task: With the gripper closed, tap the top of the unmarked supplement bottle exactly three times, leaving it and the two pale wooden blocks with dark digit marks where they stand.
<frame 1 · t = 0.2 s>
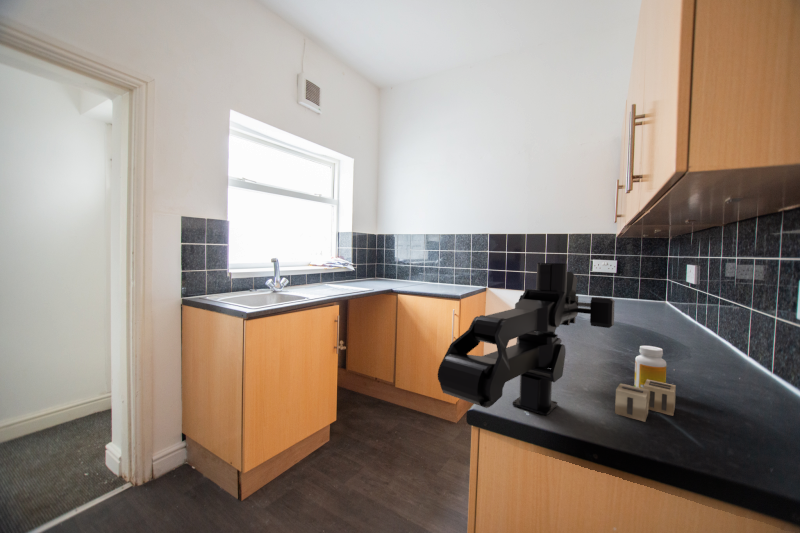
hand: (576, 306, 82), 17 cm above the counter, tool horizontal, fingers open, 9 cm apart
oak block two: (658, 408, 64), on the counter
birch block one: (631, 413, 62), on the counter
supplement bottle: (649, 393, 72), on the counter
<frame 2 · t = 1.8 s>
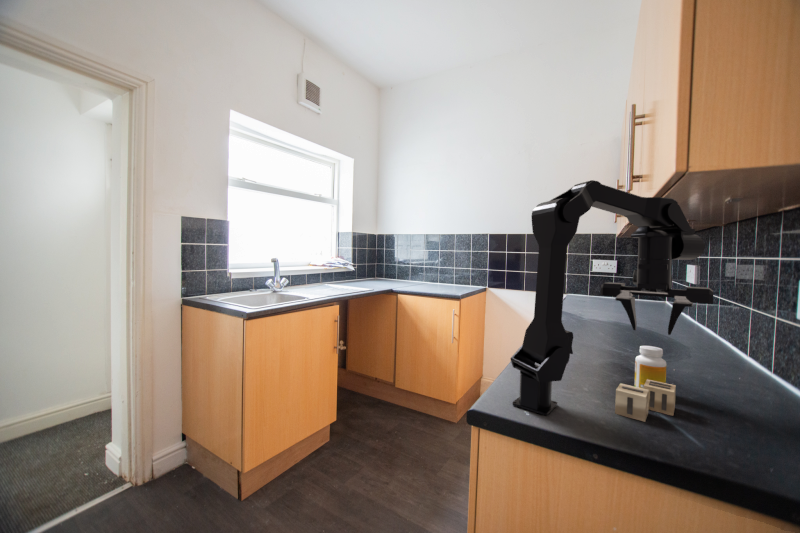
hand: (651, 332, 71), 13 cm above the counter, tool pointing down, fingers open, 6 cm apart
nothing on the counter moved.
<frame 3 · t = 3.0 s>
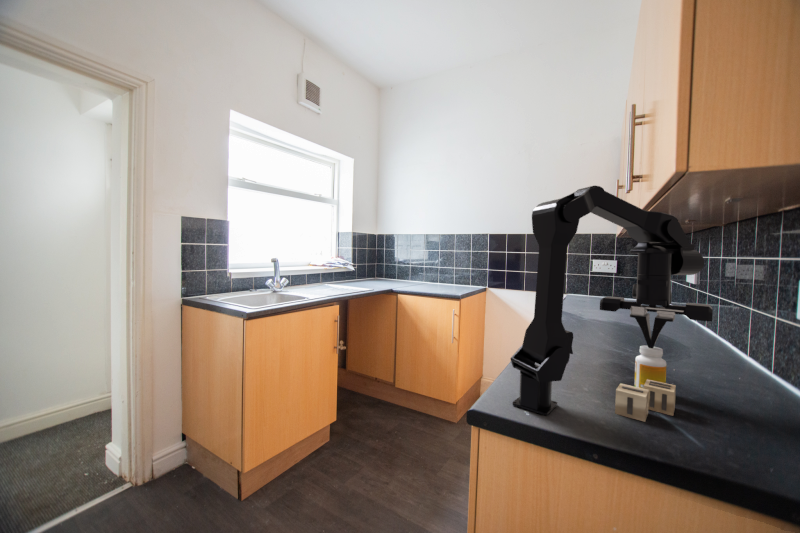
hand: (650, 347, 71), 10 cm above the counter, tool pointing down, fingers closed, pressing on supplement bottle
supplement bottle: (649, 393, 72), on the counter, touching gripper
everything else where it was.
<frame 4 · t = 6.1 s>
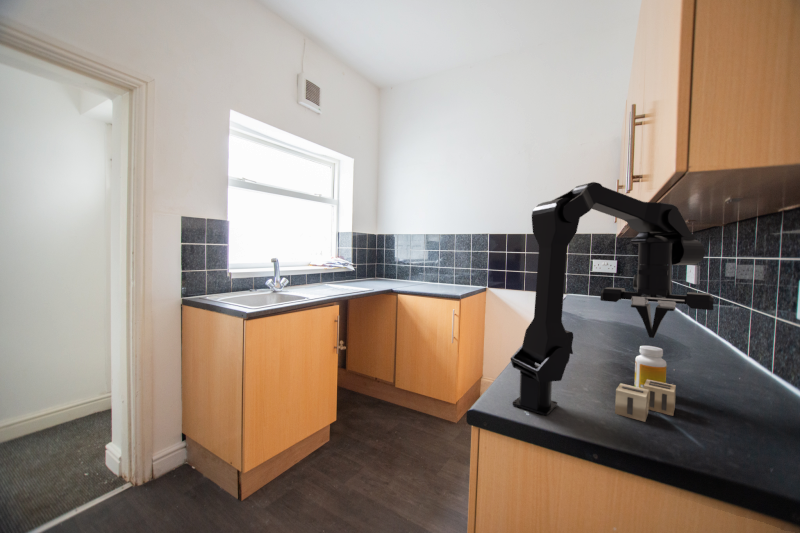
hand: (651, 337, 71), 12 cm above the counter, tool pointing down, fingers closed
supplement bottle: (649, 393, 72), on the counter
everything else where it was.
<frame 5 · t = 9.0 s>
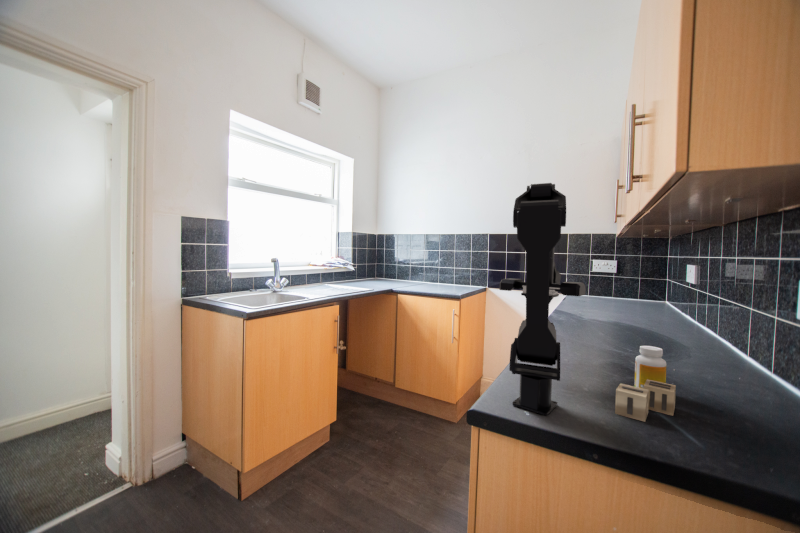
hand: (539, 321, 81), 13 cm above the counter, tool pointing down, fingers closed
nothing on the counter moved.
at the end: supplement bottle moved 0.2 cm from its start; supplement bottle tilted 0°; oak block two moved 0.1 cm from its start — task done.
